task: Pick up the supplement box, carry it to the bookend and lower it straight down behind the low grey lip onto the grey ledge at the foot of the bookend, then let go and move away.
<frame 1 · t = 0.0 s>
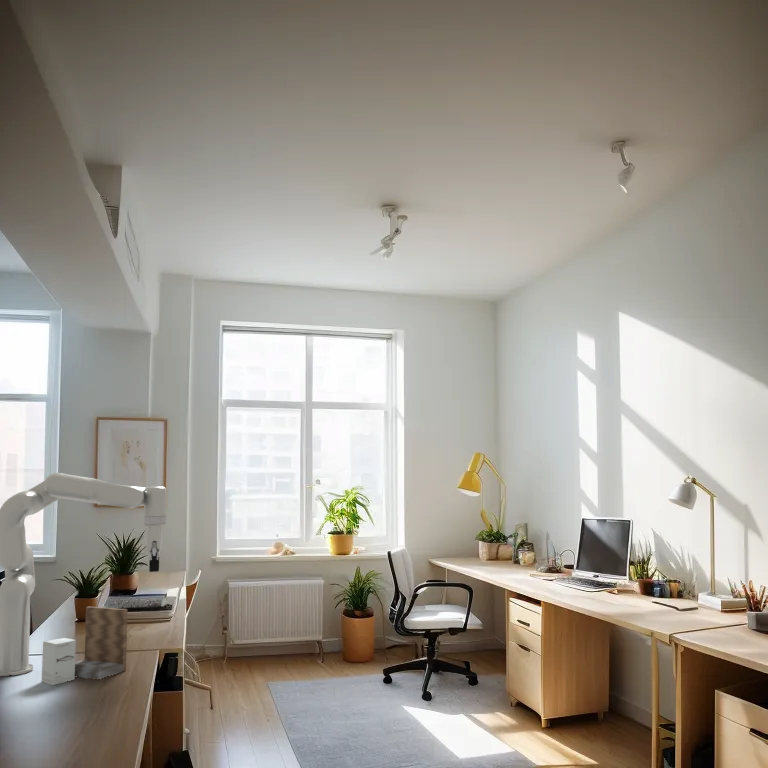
hand: (154, 569, 271), 31 cm above the table, tool pointing down, fingers open, 9 cm apart
bookend: (92, 672, 252), on the table
supplement box: (58, 681, 243), on the table
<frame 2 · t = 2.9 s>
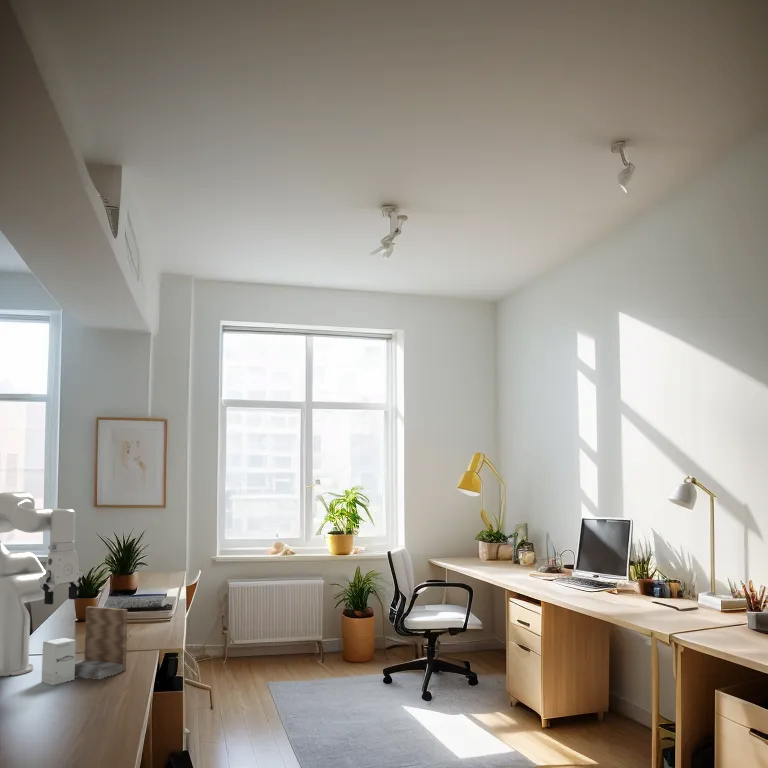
hand: (60, 601, 245), 25 cm above the table, tool pointing down, fingers open, 9 cm apart
nothing on the table moved.
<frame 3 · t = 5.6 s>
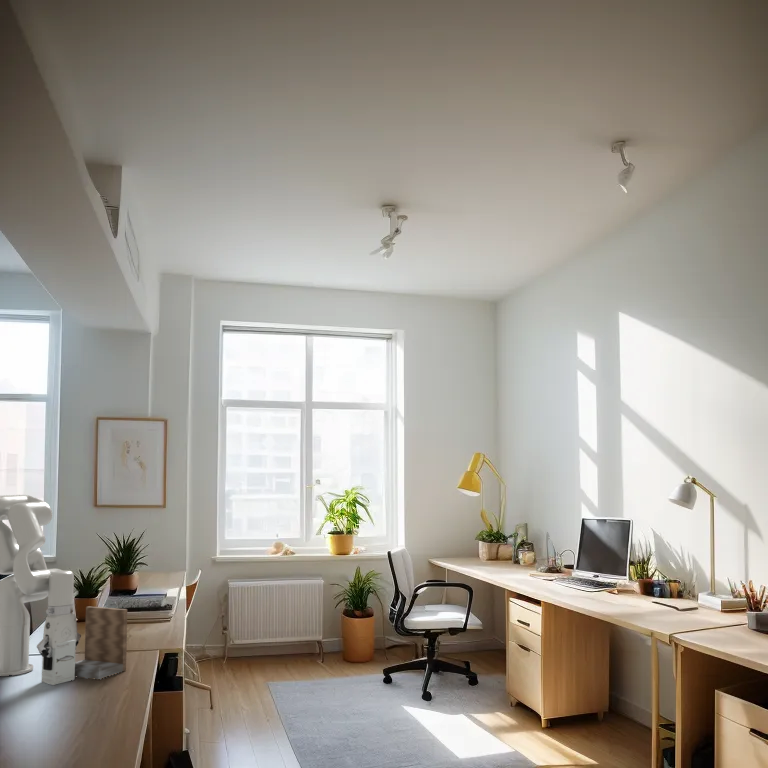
hand: (58, 666, 243), 5 cm above the table, tool pointing down, fingers closed on supplement box, 8 cm apart
supplement box: (58, 681, 242), on the table, touching gripper
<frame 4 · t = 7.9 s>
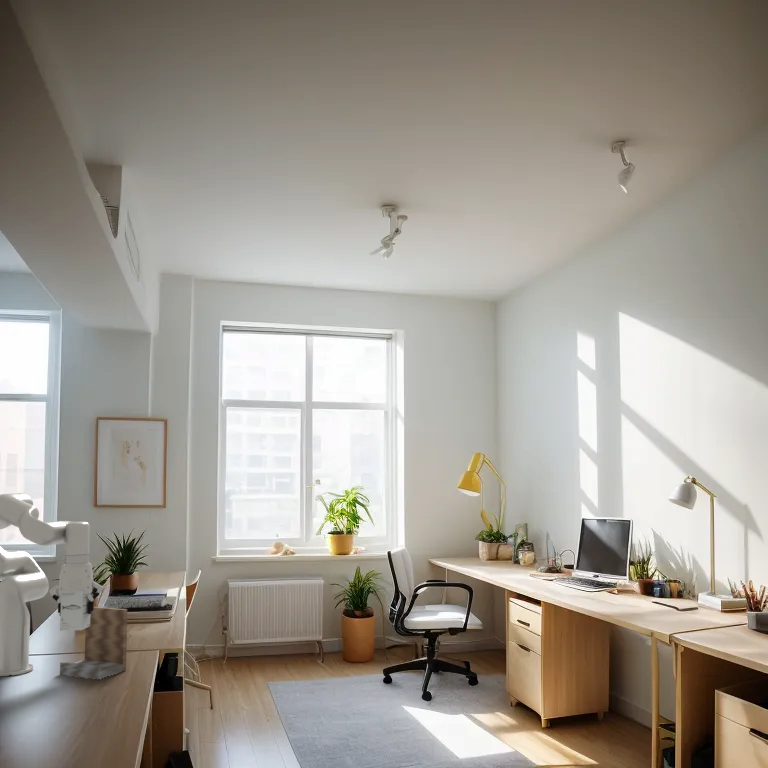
hand: (75, 614, 249), 20 cm above the table, tool pointing down, fingers closed on supplement box, 8 cm apart
supplement box: (75, 629, 248), point 15 cm above the table, touching gripper
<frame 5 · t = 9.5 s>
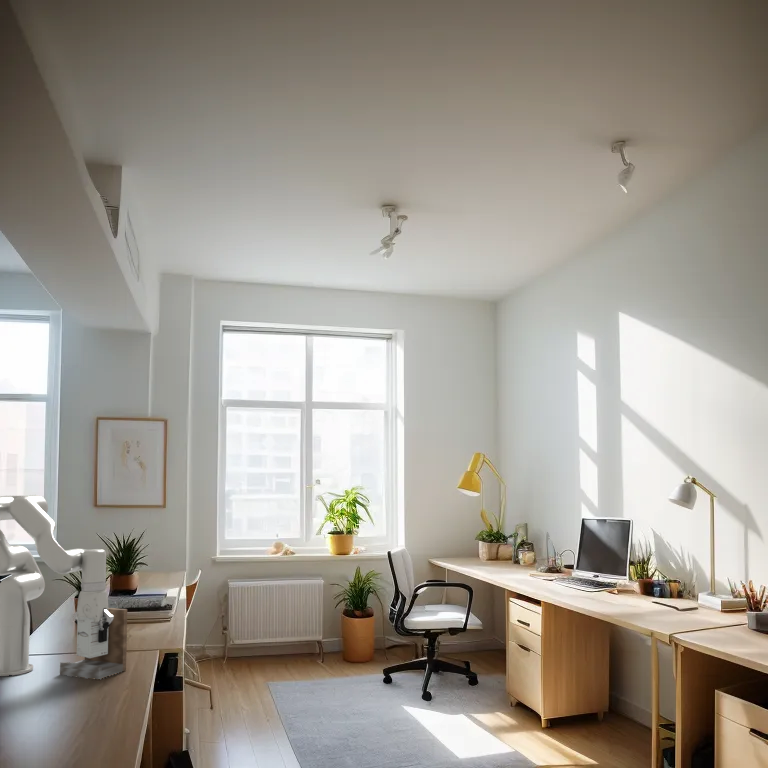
hand: (92, 640, 252), 10 cm above the table, tool pointing down, fingers closed on supplement box, 8 cm apart
supplement box: (92, 655, 252), point 6 cm above the table, touching gripper
when the fingers open (8 cm above the table, at t = 10.5 s): supplement box drops 1 cm, resting on bookend.
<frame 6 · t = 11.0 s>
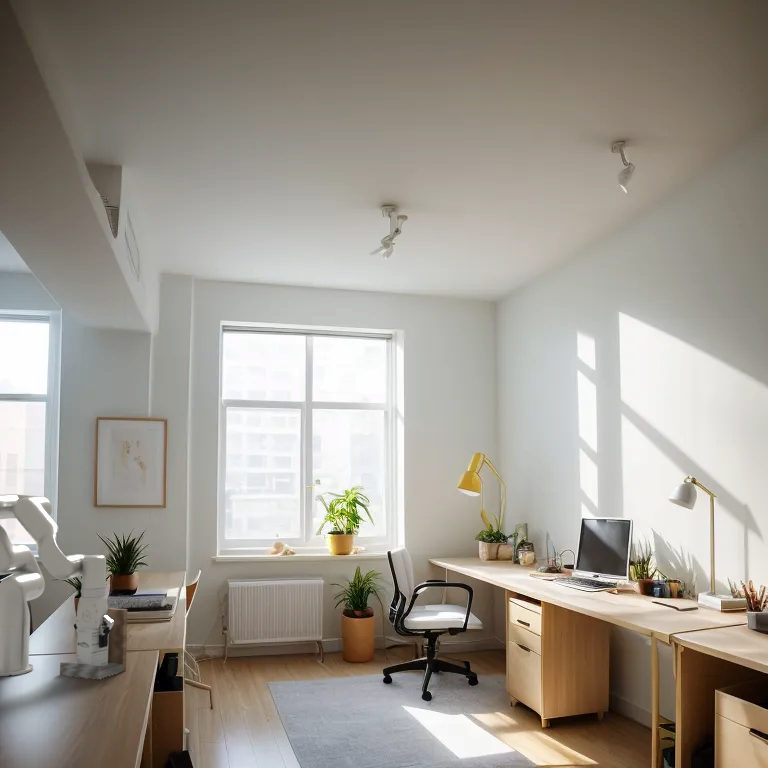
hand: (92, 645, 252), 9 cm above the table, tool pointing down, fingers open, 9 cm apart
supplement box: (92, 666, 251), point 2 cm above the table, touching bookend
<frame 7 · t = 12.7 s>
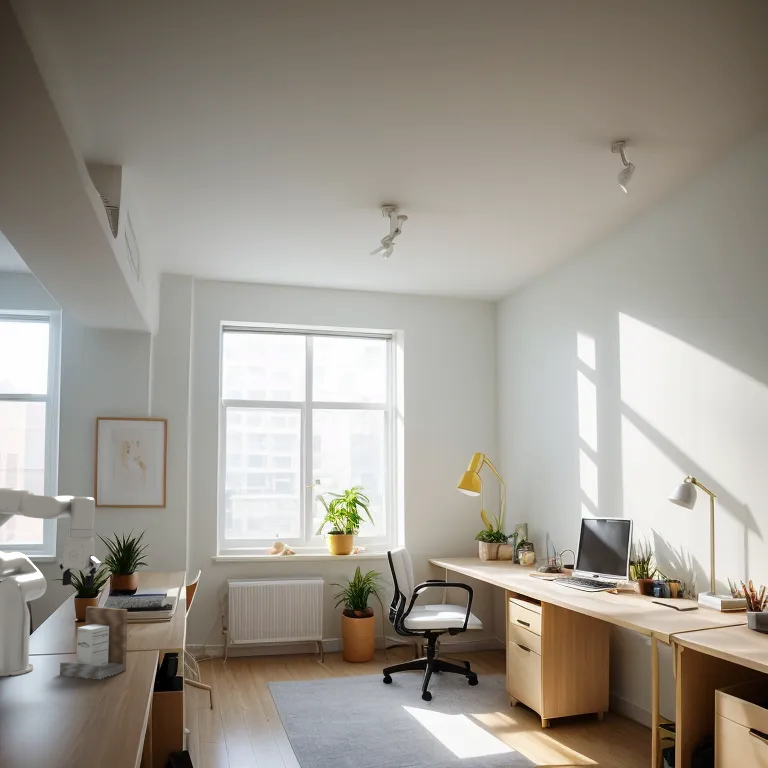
hand: (77, 586, 253), 28 cm above the table, tool pointing down, fingers open, 9 cm apart
nothing on the table moved.
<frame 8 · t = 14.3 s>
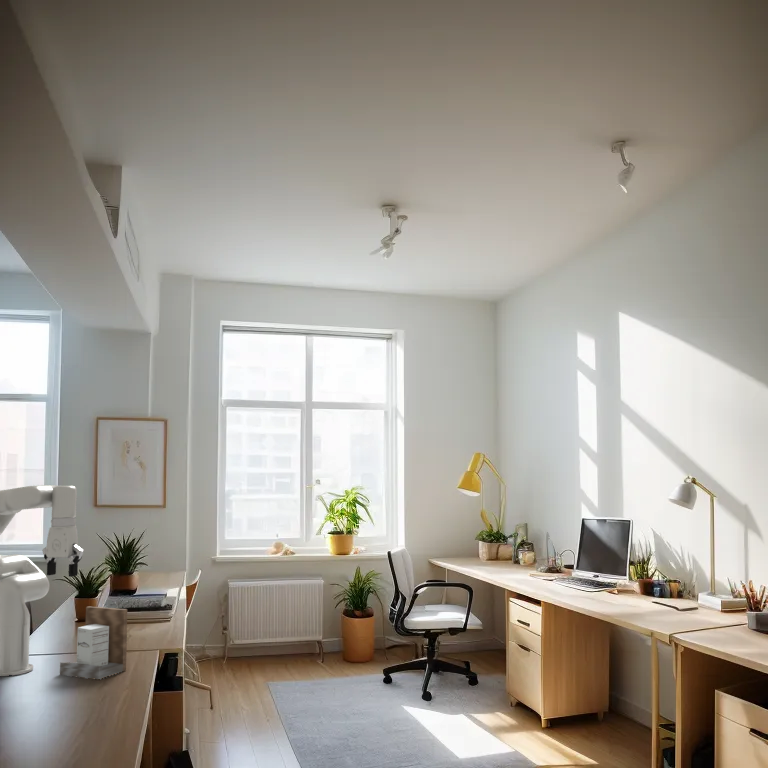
hand: (62, 575, 251), 32 cm above the table, tool pointing down, fingers open, 9 cm apart
nothing on the table moved.
at the end: supplement box 0.3 cm off-centre on the bookend, point 2.3 cm above the bookend's base; supplement box tilted 0°; the gripper is holding nothing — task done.
